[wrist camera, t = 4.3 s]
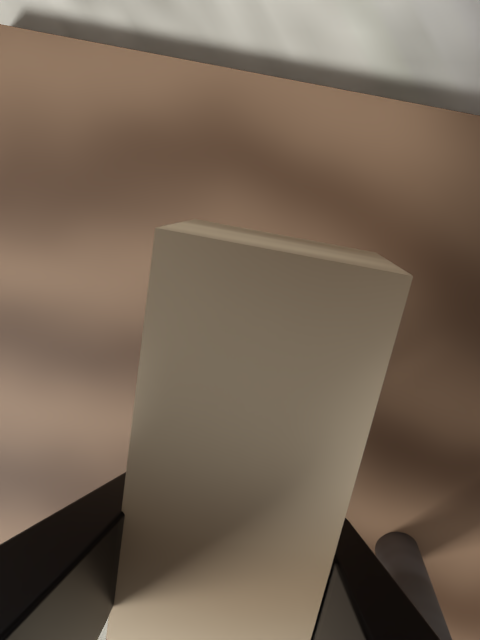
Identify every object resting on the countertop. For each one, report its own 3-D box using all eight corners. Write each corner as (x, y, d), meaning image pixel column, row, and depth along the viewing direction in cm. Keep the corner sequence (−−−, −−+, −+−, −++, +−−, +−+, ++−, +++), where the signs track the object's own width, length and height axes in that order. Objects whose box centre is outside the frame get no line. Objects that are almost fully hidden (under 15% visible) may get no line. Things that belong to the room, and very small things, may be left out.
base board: (500, 667, 22) (568, 819, 16) (-15, 540, 23) (-105, 644, 18) (743, 172, 15) (983, 162, 10) (4, 31, 16) (-130, -45, 11)
